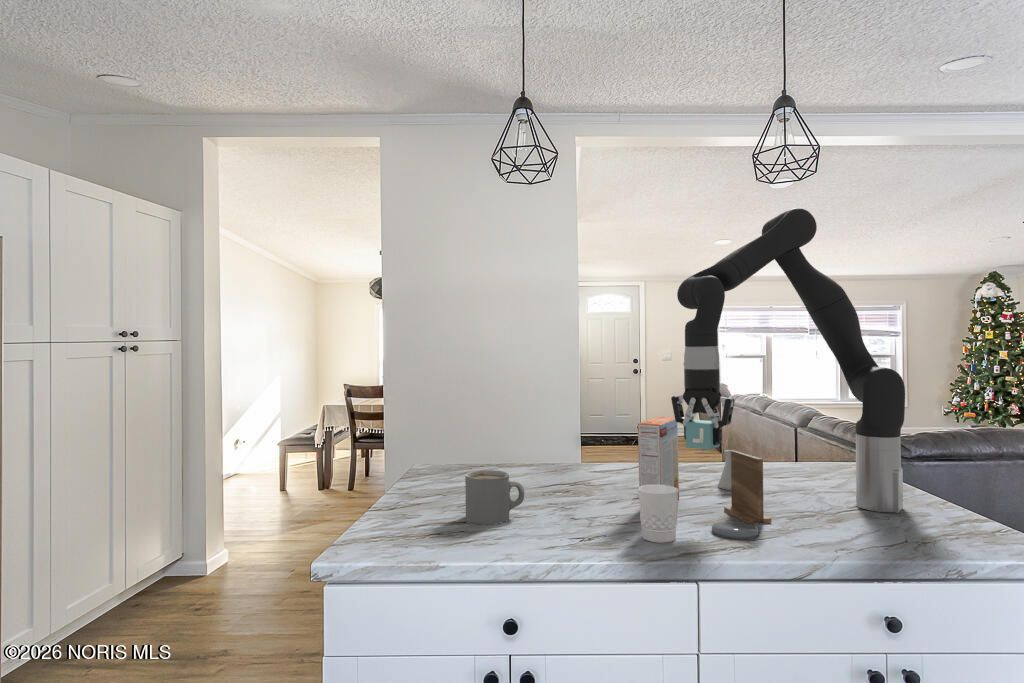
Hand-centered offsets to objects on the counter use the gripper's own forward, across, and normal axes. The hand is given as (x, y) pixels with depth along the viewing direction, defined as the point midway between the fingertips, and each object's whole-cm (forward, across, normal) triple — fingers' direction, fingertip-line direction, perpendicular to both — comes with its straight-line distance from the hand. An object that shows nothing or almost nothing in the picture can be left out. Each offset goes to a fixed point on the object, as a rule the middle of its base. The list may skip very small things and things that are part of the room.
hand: (702, 443), depth 141 cm
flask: (+18, +7, -35) cm, 40 cm away
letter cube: (+1, 0, 0) cm, 1 cm away
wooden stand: (+17, -6, -9) cm, 21 cm away
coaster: (+17, -8, +4) cm, 20 cm away
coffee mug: (+17, +38, +26) cm, 50 cm away
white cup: (+17, +2, +17) cm, 24 cm away
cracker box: (+17, +14, -6) cm, 23 cm away
